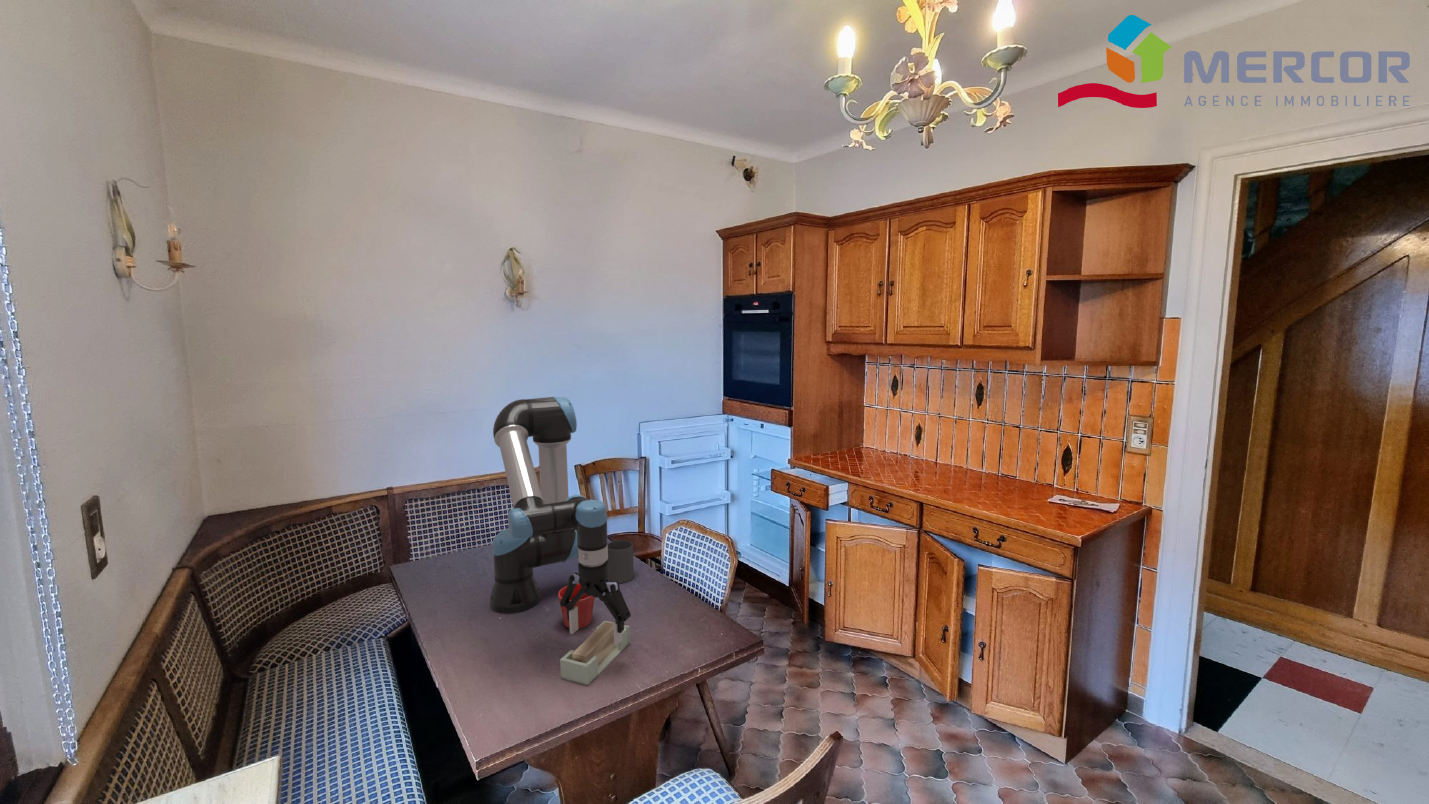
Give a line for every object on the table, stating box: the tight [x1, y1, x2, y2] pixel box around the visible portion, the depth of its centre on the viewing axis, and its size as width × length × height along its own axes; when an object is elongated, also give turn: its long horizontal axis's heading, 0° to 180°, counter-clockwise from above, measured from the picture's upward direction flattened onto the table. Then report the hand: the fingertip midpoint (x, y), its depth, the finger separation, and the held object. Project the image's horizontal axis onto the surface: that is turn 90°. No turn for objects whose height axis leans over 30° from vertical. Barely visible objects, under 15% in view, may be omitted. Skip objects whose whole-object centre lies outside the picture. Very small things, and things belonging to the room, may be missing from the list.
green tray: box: [559, 620, 631, 686], centre depth 151 cm, size 8×20×5 cm, turn 158°
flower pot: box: [557, 583, 596, 630], centre depth 169 cm, size 11×11×10 cm
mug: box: [607, 539, 635, 584], centre depth 200 cm, size 14×9×12 cm
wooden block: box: [572, 621, 616, 666], centre depth 150 cm, size 4×16×6 cm, turn 161°
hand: (595, 637), depth 151 cm, fingers open, 13 cm apart
